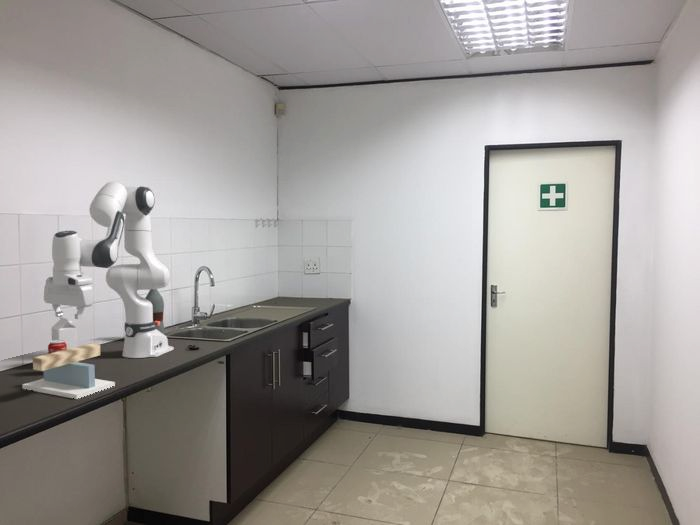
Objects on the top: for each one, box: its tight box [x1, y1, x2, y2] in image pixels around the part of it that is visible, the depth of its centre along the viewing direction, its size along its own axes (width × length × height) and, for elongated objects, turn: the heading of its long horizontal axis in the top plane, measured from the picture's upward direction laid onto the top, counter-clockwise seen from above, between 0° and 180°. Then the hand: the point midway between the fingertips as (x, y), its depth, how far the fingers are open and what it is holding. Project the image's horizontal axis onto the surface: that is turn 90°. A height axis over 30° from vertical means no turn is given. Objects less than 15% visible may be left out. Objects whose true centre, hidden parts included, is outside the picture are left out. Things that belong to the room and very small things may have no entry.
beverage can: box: [47, 340, 67, 354], centre depth 222 cm, size 6×6×12 cm
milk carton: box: [51, 316, 79, 362], centre depth 233 cm, size 7×7×19 cm
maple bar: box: [32, 342, 101, 372], centre depth 202 cm, size 24×4×4 cm, turn 156°
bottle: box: [144, 289, 166, 335], centre depth 279 cm, size 9×9×30 cm
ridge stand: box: [21, 361, 116, 400], centre depth 203 cm, size 16×26×9 cm, turn 66°
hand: (68, 317), depth 203 cm, fingers open, 8 cm apart
